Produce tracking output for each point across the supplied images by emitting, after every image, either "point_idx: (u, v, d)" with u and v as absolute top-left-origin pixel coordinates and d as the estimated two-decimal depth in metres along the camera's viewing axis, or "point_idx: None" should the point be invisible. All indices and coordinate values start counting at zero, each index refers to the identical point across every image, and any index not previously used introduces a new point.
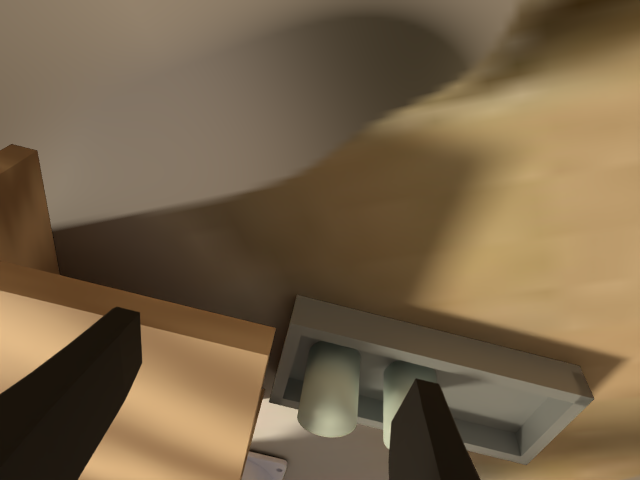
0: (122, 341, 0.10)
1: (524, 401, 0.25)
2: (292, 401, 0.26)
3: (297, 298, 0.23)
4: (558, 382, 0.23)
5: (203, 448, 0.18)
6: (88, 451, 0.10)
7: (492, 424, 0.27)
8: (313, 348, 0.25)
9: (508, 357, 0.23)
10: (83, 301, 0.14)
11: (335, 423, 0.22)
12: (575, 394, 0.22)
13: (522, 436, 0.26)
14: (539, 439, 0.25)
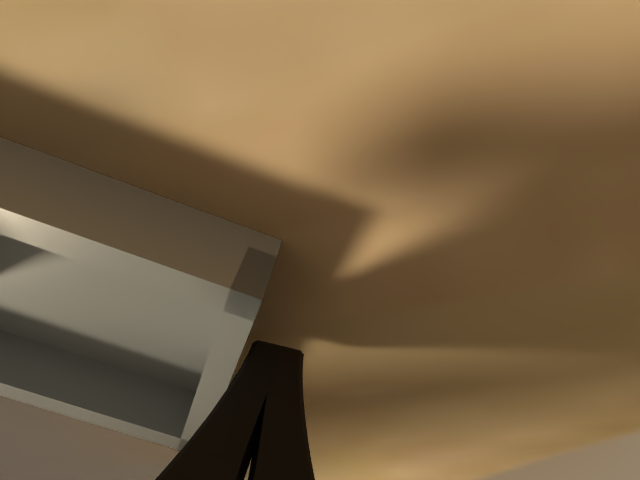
0: None
1: (185, 322, 0.12)
2: None
3: None
4: (188, 256, 0.09)
5: None
6: None
7: (149, 372, 0.13)
8: None
9: (95, 194, 0.10)
10: None
11: None
12: (219, 286, 0.09)
13: None
14: (195, 401, 0.11)
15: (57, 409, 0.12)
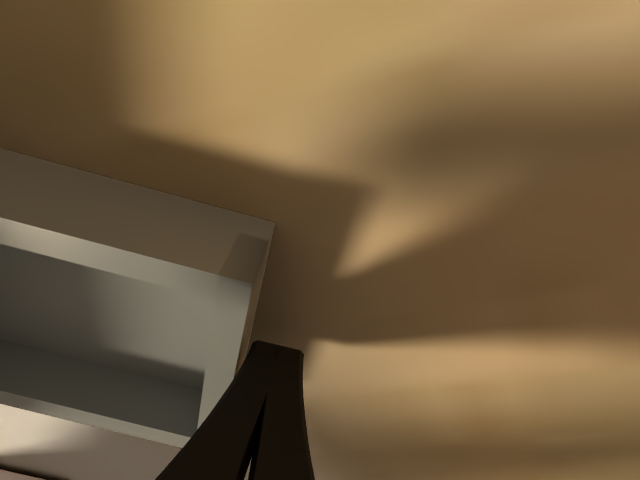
0: None
1: (188, 319, 0.12)
2: None
3: None
4: (174, 246, 0.09)
5: None
6: None
7: (161, 374, 0.13)
8: None
9: (79, 193, 0.10)
10: None
11: None
12: (207, 273, 0.09)
13: None
14: (204, 398, 0.11)
15: (72, 417, 0.12)
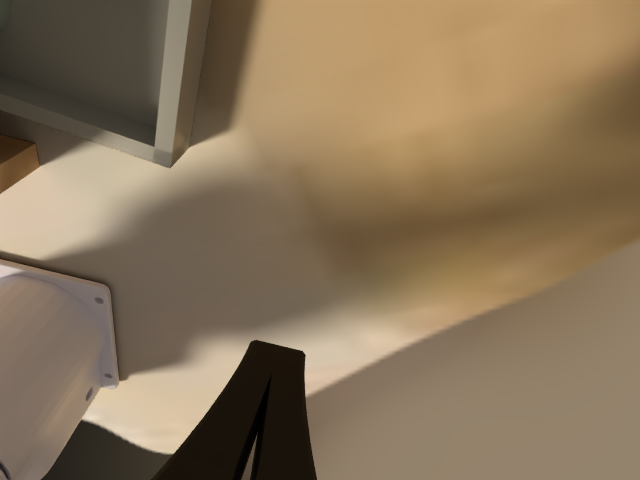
0: (270, 376, 0.10)
1: (154, 50, 0.16)
2: None
3: None
4: None
5: None
6: None
7: (132, 112, 0.18)
8: None
9: None
10: None
11: None
12: None
13: None
14: (161, 97, 0.16)
15: (63, 126, 0.17)
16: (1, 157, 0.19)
